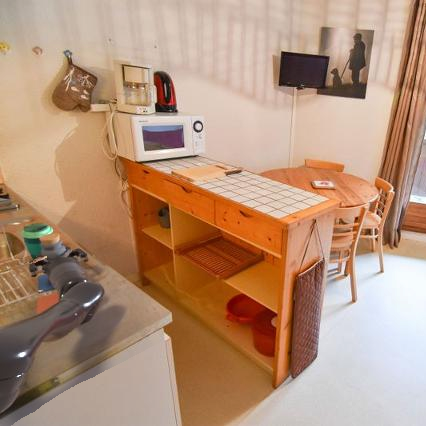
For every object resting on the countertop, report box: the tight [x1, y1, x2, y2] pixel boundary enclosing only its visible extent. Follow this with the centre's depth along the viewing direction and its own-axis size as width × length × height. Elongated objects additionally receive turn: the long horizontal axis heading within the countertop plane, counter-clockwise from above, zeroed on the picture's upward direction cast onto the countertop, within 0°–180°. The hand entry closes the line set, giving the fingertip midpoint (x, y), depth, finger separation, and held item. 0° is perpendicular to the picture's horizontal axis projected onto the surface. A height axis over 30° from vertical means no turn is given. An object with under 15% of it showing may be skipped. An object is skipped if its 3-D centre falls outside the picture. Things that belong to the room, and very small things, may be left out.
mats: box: [36, 273, 59, 314], centre depth 96 cm, size 11×23×1 cm, turn 38°
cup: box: [20, 222, 54, 260], centre depth 109 cm, size 8×8×12 cm
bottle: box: [39, 232, 66, 259], centre depth 98 cm, size 6×6×15 cm
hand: (52, 252), depth 99 cm, fingers closed on bottle, 6 cm apart
